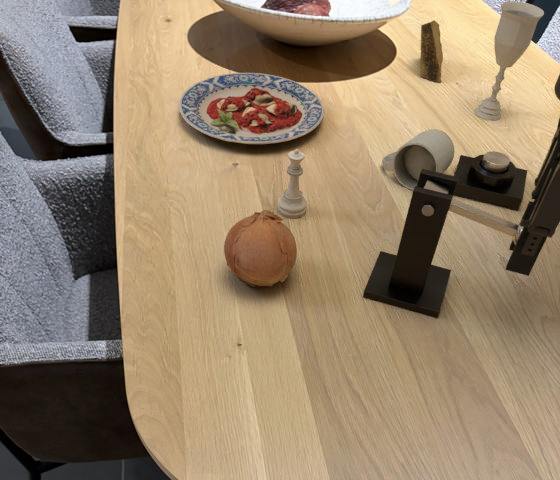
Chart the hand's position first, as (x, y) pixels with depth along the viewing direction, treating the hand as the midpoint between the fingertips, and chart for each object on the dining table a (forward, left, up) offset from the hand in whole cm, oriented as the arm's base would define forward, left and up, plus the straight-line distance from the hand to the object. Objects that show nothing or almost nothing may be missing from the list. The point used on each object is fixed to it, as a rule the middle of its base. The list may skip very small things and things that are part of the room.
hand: (519, 260), depth 73 cm
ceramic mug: (+17, -27, -9) cm, 33 cm away
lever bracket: (+12, 0, -9) cm, 15 cm away
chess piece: (+32, -10, -9) cm, 35 cm away
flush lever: (+6, 0, +3) cm, 7 cm away
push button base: (+5, -29, -9) cm, 31 cm away
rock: (+22, -69, -9) cm, 73 cm away
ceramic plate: (+48, -34, -9) cm, 59 cm away
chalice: (+8, -55, -9) cm, 56 cm away
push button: (+5, -29, -5) cm, 30 cm away
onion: (+31, +6, -9) cm, 33 cm away
